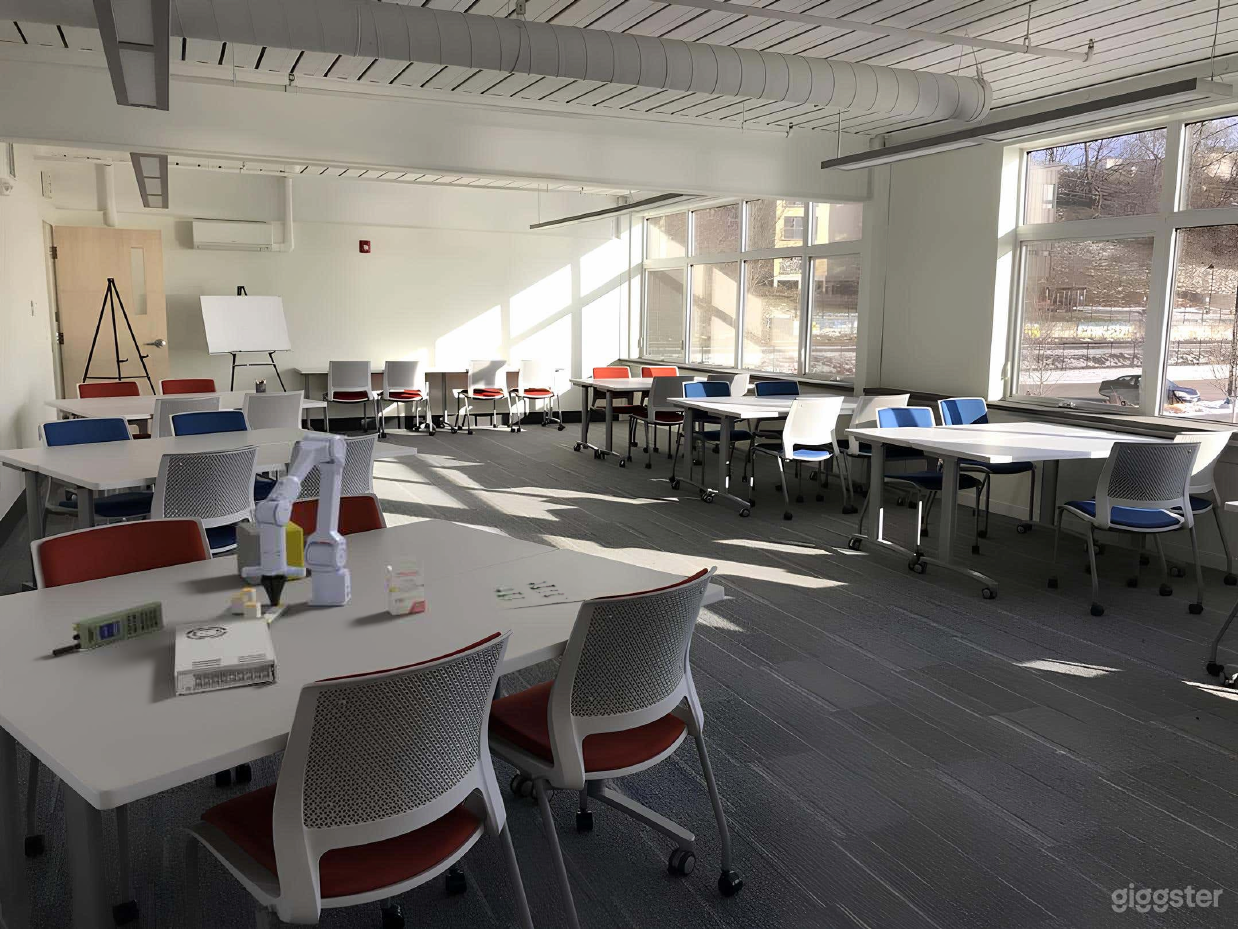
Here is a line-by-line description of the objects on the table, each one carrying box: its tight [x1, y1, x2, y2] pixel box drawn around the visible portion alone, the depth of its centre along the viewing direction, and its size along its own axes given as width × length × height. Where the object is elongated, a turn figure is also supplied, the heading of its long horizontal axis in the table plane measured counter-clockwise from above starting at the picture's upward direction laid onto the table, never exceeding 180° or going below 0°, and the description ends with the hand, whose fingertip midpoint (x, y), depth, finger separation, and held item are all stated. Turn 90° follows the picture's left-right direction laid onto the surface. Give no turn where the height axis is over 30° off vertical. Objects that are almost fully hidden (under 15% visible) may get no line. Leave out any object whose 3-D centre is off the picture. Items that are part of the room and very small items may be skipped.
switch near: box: [244, 601, 261, 618], centre depth 227 cm, size 3×3×4 cm
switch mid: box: [230, 594, 248, 613], centre depth 232 cm, size 3×3×4 cm
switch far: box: [239, 587, 257, 602], centre depth 238 cm, size 3×3×4 cm
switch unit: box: [210, 602, 290, 629], centre depth 233 cm, size 14×16×2 cm
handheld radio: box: [51, 600, 164, 657], centre depth 214 cm, size 7×3×25 cm
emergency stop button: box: [235, 519, 332, 586], centre depth 272 cm, size 15×24×15 cm, turn 124°
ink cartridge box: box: [386, 555, 426, 616], centre depth 240 cm, size 9×5×15 cm, turn 116°
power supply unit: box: [174, 616, 278, 694], centre depth 202 cm, size 19×33×5 cm, turn 24°
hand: (275, 605), depth 227 cm, fingers closed
